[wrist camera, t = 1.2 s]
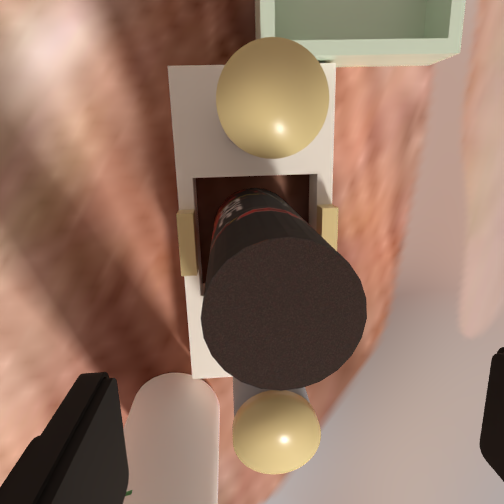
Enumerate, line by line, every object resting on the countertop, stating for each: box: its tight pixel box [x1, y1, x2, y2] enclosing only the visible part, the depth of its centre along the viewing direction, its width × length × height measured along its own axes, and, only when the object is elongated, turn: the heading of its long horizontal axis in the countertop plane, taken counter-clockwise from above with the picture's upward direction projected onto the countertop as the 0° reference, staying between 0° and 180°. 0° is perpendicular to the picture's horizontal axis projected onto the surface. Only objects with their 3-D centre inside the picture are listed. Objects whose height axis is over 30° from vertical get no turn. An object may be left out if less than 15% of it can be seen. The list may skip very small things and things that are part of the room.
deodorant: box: [201, 188, 367, 391], centre depth 21 cm, size 6×6×15 cm
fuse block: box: [168, 37, 338, 474], centre depth 22 cm, size 21×10×12 cm, turn 1°
